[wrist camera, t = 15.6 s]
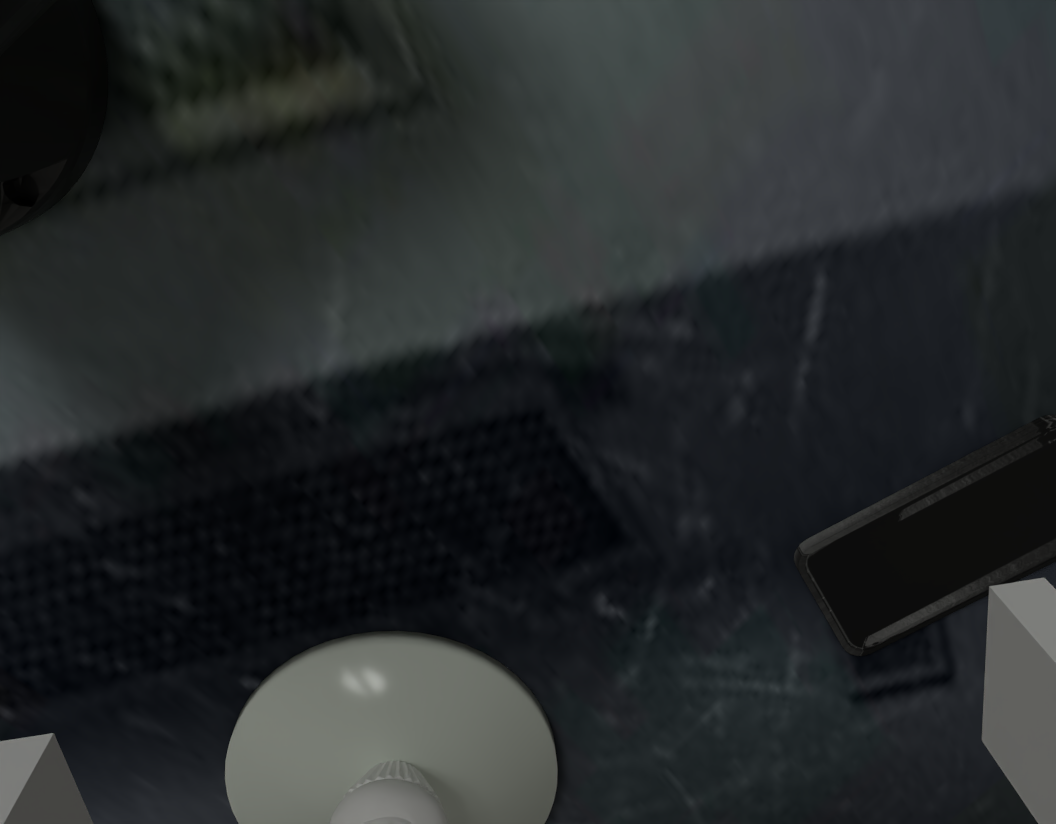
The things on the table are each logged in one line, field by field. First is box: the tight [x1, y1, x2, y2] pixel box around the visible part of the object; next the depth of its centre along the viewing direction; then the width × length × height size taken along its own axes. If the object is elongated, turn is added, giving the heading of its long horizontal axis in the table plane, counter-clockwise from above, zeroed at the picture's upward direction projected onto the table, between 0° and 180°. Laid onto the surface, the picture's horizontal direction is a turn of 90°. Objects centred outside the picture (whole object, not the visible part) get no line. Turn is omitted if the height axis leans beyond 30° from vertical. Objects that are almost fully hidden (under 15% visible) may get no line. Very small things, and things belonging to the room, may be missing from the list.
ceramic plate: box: [225, 631, 558, 824], centre depth 55 cm, size 18×18×1 cm
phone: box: [794, 415, 1056, 656], centre depth 51 cm, size 8×1×15 cm
